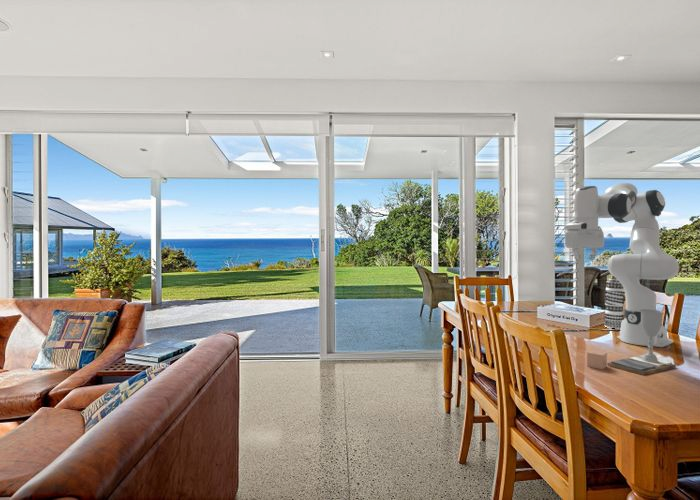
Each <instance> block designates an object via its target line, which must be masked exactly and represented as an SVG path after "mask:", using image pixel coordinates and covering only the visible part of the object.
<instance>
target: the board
mask: <svg viewBox="0 0 700 500" xmlns="http://www.w3.org/2000/svg"><path fill="white" fill-rule="evenodd" d="M643 356H644V354H643V355H637V356H632V357H628V358H622V359H617V360H612V361H607V366H608V367H613V368H615V369H618V370H622V371H623V370H624V371H627V372H630V373H634V374H638V375H641V376H646V375H649V374H654V373H657V372H662V371H667V370H671V369H674V368H676V364H675V363H673V362H671V361H667V360H664V359H658V358H657V360H658V361H659V362H657V363H654V362H647V361H643V360H642V358H643Z"/></svg>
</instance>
